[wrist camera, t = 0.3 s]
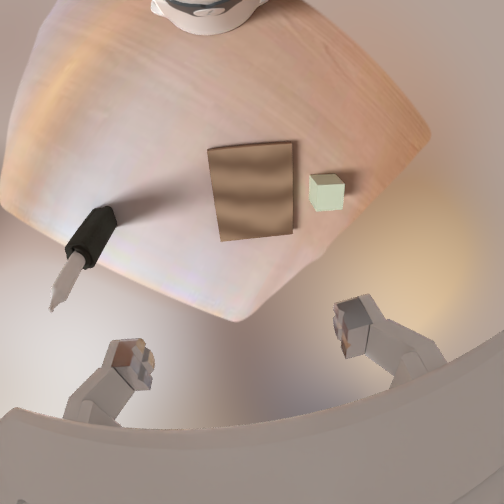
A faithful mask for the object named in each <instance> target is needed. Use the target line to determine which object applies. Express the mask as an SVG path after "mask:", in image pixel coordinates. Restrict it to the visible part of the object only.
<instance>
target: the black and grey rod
mask: <svg viewBox="0 0 504 504" xmlns="http://www.w3.org/2000/svg"><path fill="white" fill-rule="evenodd" d="M116 226H117V222H116V219H115V216H114V213H113V210H112V209H111V208H110V207H109V206H106V207H104V208H100V209H93V210H92V211H91V213H90V214H89V215H88V216H87V218H86V219H85V220H84V222H83V223H82V224H81V226H80V227H79V228H78V230H77V231H76V232H75V234H74V235H73V237H72V238H71V239H70V241H69V242H68V244H67V245H66V247H65V252H66V254H67V259H68V260H67V262H66V264H65V265H64V267H63V269H62V270H61V272H60V274H59V276H58V277H57V279H56V281H55V282H54V284H53V286H52V288H51V303H50V307H49V308H48V310H49V312H50V313H51V312H53V311H54V308H55V307H56V306H57V305H58V304H59V303H61V302H64V301H66V299H67V298H68V295H69V293H70V291H71V289H72V287H73V285H74V283H75V281H76V280H77V278H78V276H79V274H80V272H81V270H82V269H85V270H86V269H87V268H93V267H94V266H95V264H96V262H97V260H98V258H99V256H100V255H101V253H102V251H103V249H104V247H105V245H106V244H107V242H108V240H109V238H110V237H111V235H112V233H113V231H114V230H115V228H116Z"/></svg>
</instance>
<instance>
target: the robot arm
mask: <svg viewBox="0 0 504 504" xmlns="http://www.w3.org/2000/svg"><path fill="white" fill-rule="evenodd" d="M267 1H269V0H152V3H151V11H152V12H153V13H154V14H156V15H159V16H162V17H166V18H168V19H169V20H170V21H171V22H172V23H173V24H174V25H176V26H177V27H178V28H180V29H182V30H184V31H186V32H189V33H192V34H197V35H215V34H221V33H225V32H228V31H230V30H233V29H235V28H237V27H238V26H240V25H241V24H243V23H244V22H245V21H246V20H247V19H248V18H249V17H250V16H251V15H252V13H253V12H254V11H255V9H256V8H257V7H258V6H260V5H262V4H264V3H266V2H267ZM333 310H334V312H335V316H334V318H333V322H334V329H335V333H336V336H337V339H339V340H340V341H341V349H342V351H343V354H344V356H345V359H348V358H352V357H355V356H359V355H363V354H365V355H366V356H367V357H369V358H370V359H371V360H373V361H374V362H375V363H377V364H378V365H379V366H381V367H382V368H384V369H385V370H386V371H388V372H389V373H391V374H392V375H393V376H394V379H393V381H392V383H391V386H390V388H389V390H386V391H383V392H380V393H378V394H375V395H372V396H369V397H366V398H363V399H360V400H357V401H354V402H350V403H347V404H344V405H340V406H337V407H333V408H329V409H325V410H321V411H318V412H313V413H309V414H305V415H300V416H295V417H290V418H285V419H280V420H274V421H268V422H262V423H254V424H247V425H239V426H229V427H218V428H203V429H138V428H124V427H122V426H121V425H120V424H119V423H117V422H116V421H115V418H116V417H117V416H118V414H119V413H120V412H121V410H122V409H123V407H124V406H125V405H126V403H127V402H128V400H129V399H130V398H131V396H132V395H133V393H134V391H140V390H150V389H151V384H152V376H151V373H152V372H153V370H154V367H155V360H154V356H153V354H152V352H151V351H150V350H149V349H147V348H146V347H145V345H146V343H145V342H144V340H143V339H141V338H136V339H121V340H112V341H111V342H110V344H109V347H108V350H107V353H106V355H105V358H104V361H103V364H102V367H101V368H98V369H97V370H96V371H95V372H94V373H93V374H92V375H91V376H90V377H89V378H88V379H87V380H86V381H85V382H84V383H83V384H82V385H81V386H80V387H79V388H78V389H77V390H76V391H75V392H74V393H73V394H72V395H71V396H70V397H69V399H68V402H67V406H66V409H65V412H64V415H63V419H61V418H57V417H52V416H48V415H44V414H40V413H36V412H32V411H28V410H25V409H22V408H18V407H15V408H13V409H12V410H10V411H9V412H8V413H7V414H6V415H5V416H4V417H3V418H1V419H0V504H504V330H503V331H501V332H499V333H498V334H497V335H495V336H494V337H492V338H490V339H489V340H487V341H486V342H484V343H482V344H481V345H479V346H477V347H476V348H474V349H472V350H471V351H469V352H467V353H465V354H464V355H462V356H460V357H459V358H456V359H455V360H453V361H451V362H449V363H447V361H446V360H445V358H444V357H443V355H442V353H441V352H440V350H439V348H438V347H437V345H436V344H435V342H434V341H433V340H431V339H428V338H427V337H425V336H422V335H421V334H419V333H416V332H415V331H412V330H410V329H408V328H406V327H404V326H402V325H400V324H398V323H396V322H394V321H392V320H390V319H387V320H386V319H385V318H384V316H383V314H382V313H381V311H380V309H379V308H378V307H377V305H376V303H375V301H374V300H373V298H372V297H371V295H370V294H365V295H361V296H358V297H355V298H351V299H347V300H344V301H340V302H336V303H334V309H333Z"/></svg>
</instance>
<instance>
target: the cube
mask: <svg viewBox="0 0 504 504" xmlns="http://www.w3.org/2000/svg"><path fill="white" fill-rule="evenodd" d="M344 189H345V184H344V183H343V181H342V180H341V179H340V178H339V177H338V176H337V175H336V174H318V175H310V176H309V200H310V202H311V204H312V205H313V207H314V208H315V210H316V211H329V210H342V209H343V199H344Z"/></svg>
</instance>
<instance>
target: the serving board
mask: <svg viewBox="0 0 504 504" xmlns="http://www.w3.org/2000/svg"><path fill="white" fill-rule="evenodd" d="M207 154H208V161H209V168H210V175H211V182H212V189H213V195H214V202H215V208H216V215H217V221H218V227H219V234H220V240H221V242H223V241H232V240H241V239H250V238H260V237H269V236H279V235H288V234H293V160H292V143H291V142H275V143H261V144H249V145H239V146H229V147H221V148H213V149H208V150H207Z"/></svg>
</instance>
